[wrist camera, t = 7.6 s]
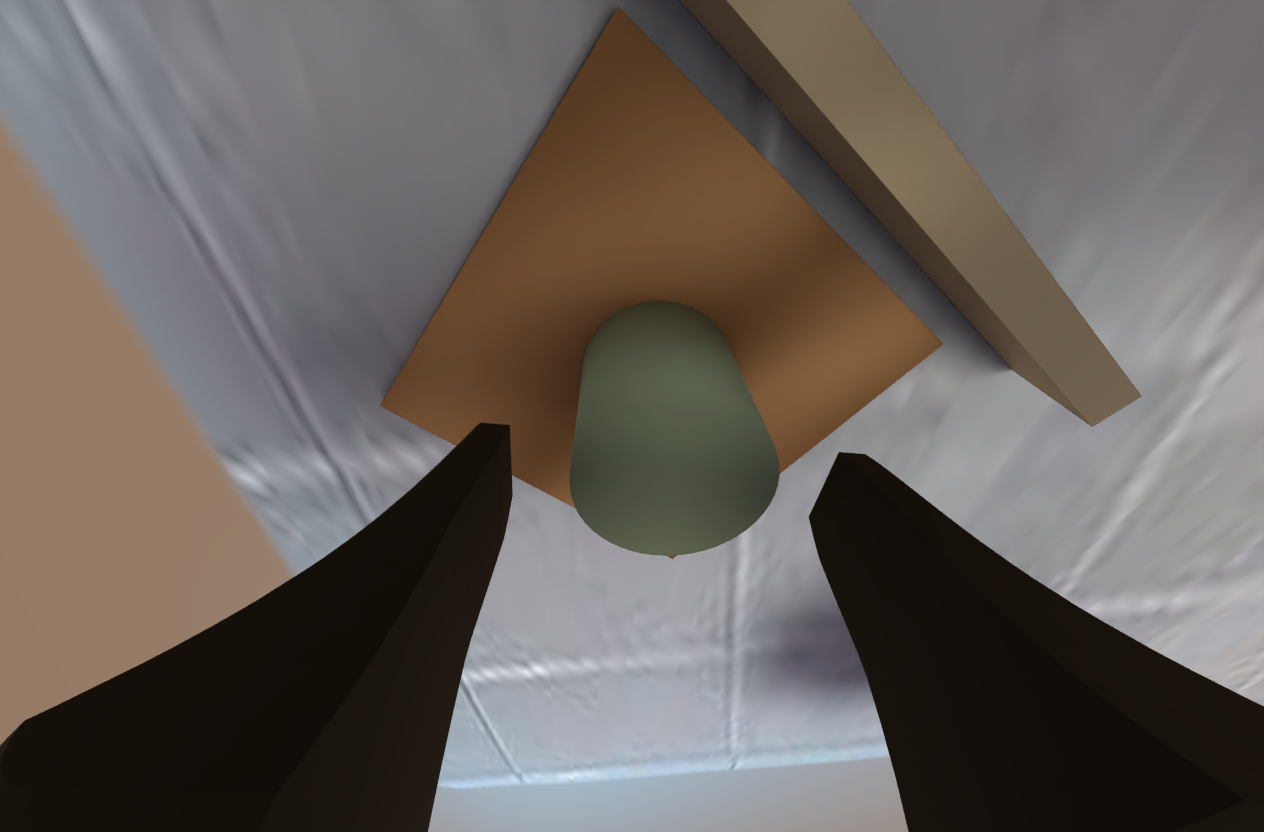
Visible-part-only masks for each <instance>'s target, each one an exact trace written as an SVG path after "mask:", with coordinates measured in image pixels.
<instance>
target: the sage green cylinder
mask: <svg viewBox="0 0 1264 832" xmlns="http://www.w3.org/2000/svg"><path fill="white" fill-rule="evenodd" d="M779 475H780V464H779V459H778V454H777V451H776V448H775V446H774V443H773V441H772V439H771V437H770V434H769V432H768V430H767V428H766V426H765V423H764V421H763V419H762V417H761V415H760V413H759V410H758V408H757V406H756V404H755V402H754V400H753V397H752V395H751V393H750V391H749V389H748V387H747V384H746V382H745V380H744V378H743V376H742V374H741V371H740V369H739V367H738V365H737V363H736V361H735V358H734V356H733V354H732V352H731V350H730V348H729V345H728V343H727V341H726V339H725V337H724V335H723V334H722V332H721V330H720V329H719V328H718V326H717V325H716V324H715V323H714V322H713V321H712V320H711V319H710V318H709V317H708V316H706V315H705V314H703V313H702V312H700V311H698V310H696V309H694V308H693V307H690V306H687V305H684V304H681V303H677V302H672V301H649V302H643V303H639V304H636V305H632V306H629V307H627V308H625V309H623V310H621V311H619V312H618V313H616V314H614V315H613V316H611V317H610V318H609V319H608V320H606V321H605V322H604V323H603V324H602V325H601V326H600V327H599V328H598V330H597V331H596V332H595V334H594V335H593V337H592V338H591V340H590V342H589V344H588V346H587V349H586V352H585V356H584V361H583V369H582V377H581V386H580V394H579V402H578V411H577V419H576V427H575V436H574V444H573V452H572V460H571V469H570V492H571V497H572V500H573V503H574V506H575V508H576V510H577V512H578V514H579V515H580V517H581V518H582V519H583V521H584V522H585V523H586V524H587V525H588V526H589V527H590V528H591V529H592V530H593V531H594V532H595V533H597V534H598V535H599V536H601V537H602V538H604V539H605V540H607V541H609V542H611V543H613V544H615V545H617V546H619V547H622V548H625V549H628V550H631V551H635V552H639V553H643V554H651V555H683V554H690V553H695V552H699V551H704V550H707V549H710V548H713V547H716V546H718V545H720V544H723V543H725V542H727V541H729V540H731V539H733V538H735V537H736V536H738V535H739V534H741V533H742V532H744V531H745V530H747V529H748V528H749V527H750V526H751V525H752V524H754V523H755V522H756V521H757V520H758V519H759V518H760V516H761V515H762V514H763V513H764V512H765V510H766V509H767V507H768V506H769V505H770V503H771V501H772V499H773V497H774V495H775V492H776V489H777V486H778V481H779Z"/></svg>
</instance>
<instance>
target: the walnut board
mask: <svg viewBox="0 0 1264 832" xmlns="http://www.w3.org/2000/svg"><path fill="white" fill-rule="evenodd" d="M649 301H672V302H677V303H681V304H684V305H687V306H690V307H693V308H694V309H696V310H698V311H700V312H702V313H703V314H705V315H706V316H708V317H709V318H710V319H711V320H712V321H713V322H714V323H715V324H716V325H717V326H718V328H719V329H720V330H721V332H722V334H723V335H724V337H725V339H726V341H727V343H728V345H729V348H730V350H731V352H732V354H733V356H734V358H735V361H736V363H737V365H738V367H739V369H740V371H741V374H742V376H743V378H744V380H745V382H746V384H747V387H748V389H749V391H750V393H751V395H752V397H753V400H754V402H755V404H756V406H757V408H758V410H759V413H760V415H761V417H762V419H763V421H764V423H765V426H766V428H767V430H768V432H769V434H770V437H771V439H772V441H773V443H774V446H775V448H776V451H777V454H778V459H779V464H780V473H781V472H783V471H784V470H785V469H786V468H788V467H789V466H790V465H791V464H793V463H794V462H795V461H796V460H798V459H799V458H800V457H801V456H803V455H804V454H805V453H806V452H808V451H809V450H810V449H812V448H813V447H814V446H815V445H817V444H818V443H819V442H820V441H822V440H823V439H824V438H825V437H827V436H828V435H829V434H830V433H832V432H833V431H834V430H835V429H837V428H838V427H839V426H841V425H842V424H843V423H844V422H846V421H847V420H848V419H849V418H851V417H852V416H853V415H854V414H856V413H857V412H858V411H859V410H861V409H862V408H863V407H864V406H866V405H867V404H868V403H870V402H871V401H872V400H873V399H875V398H876V397H877V396H878V395H880V394H881V393H882V392H883V391H885V390H886V389H887V388H888V387H890V386H891V385H892V384H893V383H895V382H896V381H897V380H899V379H900V378H901V377H902V376H904V375H905V374H906V373H907V372H909V371H910V370H911V369H912V368H914V367H915V366H916V365H917V364H919V363H920V362H921V361H922V360H924V359H925V358H926V357H927V356H929V355H930V354H931V353H933V352H934V351H935V350H936V349H938V348H939V347H940V346H941V345H943V343H942V342H941V341H940V340H939V339H938V338H937V337H936V336H935V335H934V334H933V333H932V331H931V330H930V329H929V328H928V327H927V326H926V325H925V324H924V323H923V322H922V321H921V320H920V319H919V318H918V317H917V316H916V315H915V314H914V313H913V312H912V311H911V310H910V309H909V308H908V307H907V306H906V305H905V303H904V302H903V301H902V300H901V299H900V298H899V297H898V296H897V295H896V294H895V293H894V292H893V291H892V290H891V289H890V288H889V287H888V286H887V285H886V284H885V283H884V282H883V281H882V280H881V279H880V278H879V277H878V275H877V274H876V273H875V272H874V271H873V270H872V269H871V268H870V267H869V266H868V265H867V264H866V263H865V262H864V261H863V260H862V259H861V258H860V257H859V256H858V255H857V254H856V253H855V252H854V251H853V250H852V249H851V248H850V246H849V245H848V244H847V243H846V242H845V241H844V240H843V239H842V238H841V237H840V236H839V235H838V234H837V233H836V232H835V231H834V230H833V229H832V228H831V227H830V226H829V225H828V224H827V223H826V222H825V221H824V220H823V218H822V217H821V216H820V215H819V214H818V213H817V212H816V211H815V210H814V209H813V208H812V207H811V206H810V205H809V204H808V203H807V202H806V201H805V200H804V199H803V198H802V197H801V196H800V195H799V194H798V193H797V192H796V190H795V189H794V188H793V187H792V186H791V185H790V184H789V183H788V182H787V181H786V180H785V179H784V178H783V177H782V176H781V175H780V174H779V173H778V172H777V171H776V170H775V169H774V168H773V167H772V166H771V165H770V164H769V162H768V161H767V160H766V159H765V158H764V157H763V156H762V155H761V154H760V153H759V152H758V151H757V150H756V149H755V148H754V147H753V146H752V145H751V144H750V143H749V142H748V141H747V140H746V139H745V138H744V137H743V136H742V135H741V133H740V132H739V131H738V130H737V129H736V128H735V127H734V126H733V125H732V124H731V123H730V122H729V121H728V120H727V119H726V118H725V117H724V116H723V115H722V114H721V113H720V112H719V111H718V110H717V109H716V108H715V107H714V105H713V104H712V103H711V102H710V101H709V100H708V99H707V98H706V97H705V96H704V95H703V94H702V93H701V92H700V91H699V90H698V89H697V88H696V87H695V86H694V85H693V84H692V83H691V82H690V81H689V80H688V79H687V77H686V76H685V75H684V74H683V73H682V72H681V71H680V70H679V69H678V68H677V67H676V66H675V65H674V64H673V63H672V62H671V61H670V60H669V59H668V58H667V57H666V56H665V55H664V54H663V53H662V52H661V51H660V49H659V48H658V47H657V46H656V45H655V44H654V43H653V42H652V41H651V40H650V39H649V38H648V37H647V36H646V35H645V34H644V33H643V32H642V31H641V30H640V29H639V28H638V27H637V26H636V25H635V24H634V23H633V21H632V20H631V19H630V18H629V17H628V16H627V15H626V14H625V13H624V12H623V11H622V10H621V9H620V8H619V7H618V8H617V10H616V11H615V13H614V15H613V16H612V18H611V20H610V21H609V23H608V25H607V26H606V28H605V30H604V31H603V33H602V35H601V36H600V38H599V40H598V42H597V43H596V45H595V47H594V48H593V50H592V52H591V53H590V55H589V57H588V58H587V60H586V62H585V63H584V65H583V67H582V68H581V70H580V72H579V73H578V75H577V77H576V78H575V80H574V82H573V83H572V85H571V87H570V88H569V90H568V92H567V93H566V95H565V97H564V98H563V100H562V102H561V103H560V105H559V107H558V108H557V110H556V112H555V113H554V115H553V117H552V119H551V120H550V122H549V124H548V125H547V127H546V129H545V130H544V132H543V134H542V135H541V137H540V139H539V140H538V142H537V144H536V145H535V147H534V149H533V150H532V152H531V154H530V155H529V157H528V159H527V160H526V162H525V164H524V165H523V167H522V169H521V170H520V172H519V174H518V175H517V177H516V179H515V180H514V182H513V184H512V185H511V187H510V189H509V190H508V192H507V194H506V195H505V197H504V199H503V201H502V202H501V204H500V206H499V207H498V209H497V211H496V212H495V214H494V216H493V217H492V219H491V221H490V222H489V224H488V226H487V227H486V229H485V231H484V232H483V234H482V236H481V237H480V239H479V241H478V242H477V244H476V246H475V247H474V249H473V251H472V252H471V254H470V256H469V257H468V259H467V261H466V262H465V264H464V266H463V267H462V269H461V271H460V272H459V274H458V276H457V278H456V279H455V281H454V283H453V284H452V286H451V288H450V289H449V291H448V293H447V294H446V296H445V298H444V299H443V301H442V303H441V304H440V306H439V308H438V309H437V311H436V313H435V314H434V316H433V318H432V319H431V321H430V323H429V324H428V326H427V328H426V329H425V331H424V333H423V334H422V336H421V338H420V339H419V341H418V343H417V344H416V346H415V348H414V349H413V351H412V353H411V355H410V356H409V358H408V360H407V361H406V363H405V365H404V366H403V368H402V370H401V371H400V373H399V375H398V376H397V378H396V380H395V381H394V383H393V385H392V386H391V388H390V390H389V391H388V393H387V395H386V396H385V398H384V400H383V401H382V403H381V405H380V406H381V407H383V408H385V409H387V410H389V411H391V412H393V413H395V414H397V415H398V416H400V417H402V418H404V419H406V420H408V421H410V422H412V423H414V424H416V425H418V426H419V427H421V428H423V429H425V430H427V431H429V432H431V433H433V434H435V435H437V436H439V437H440V438H442V439H444V440H446V441H448V442H450V443H452V444H454V445H456V446H457V445H458V444H459V443H460V442H461V441H462V440H463V439H464V438H465V437H466V436H467V435H468V434H469V433H470V432H471V431H472V429H473V428H474V427H475V426H477V425H478V424H479V423H493V424H505V425H510V438H511V467H512V475H513V476H515V477H517V478H519V479H521V480H523V481H525V482H526V483H528V484H530V485H532V486H534V487H536V488H538V489H540V490H542V491H544V492H546V493H547V494H549V495H551V496H553V497H555V498H557V499H559V500H561V501H563V502H565V503H567V504H569V505H570V506H572V507H574V508H575V506H574V503H573V500H572V497H571V492H570V469H571V460H572V452H573V444H574V436H575V427H576V419H577V411H578V402H579V394H580V386H581V377H582V369H583V361H584V356H585V352H586V349H587V346H588V344H589V342H590V340H591V338H592V337H593V335H594V334H595V332H596V331H597V330H598V328H599V327H600V326H601V325H602V324H603V323H604V322H605V321H606V320H608V319H609V318H610V317H611V316H613V315H614V314H616V313H618V312H619V311H621V310H623V309H625V308H627V307H629V306H632V305H636V304H639V303H643V302H649ZM666 556H668V557H670V558H672V559H673V558H674V557H675V556H677V555H666Z"/></svg>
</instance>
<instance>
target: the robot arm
mask: <svg viewBox="0 0 1264 832" xmlns="http://www.w3.org/2000/svg"><path fill="white" fill-rule="evenodd" d="M511 501H512V467H511V438H510V425H505V424H493V423H479V424H478V425H477V426H475V427H474V428H473V429H472V431H471V432H470V433H469V434H468V435H467V436H466V437H465V438H464V439H463V440H462V441H461V442H460V443H459V444H458V445H457V446H456V447H455V448H454V449H453V450H452V451H451V452H450V453H449V454H448V455H447V456H446V457H445V458H444V459H443V460H442V461H441V462H440V463H439V464H438V465H437V466H436V467H434V468H433V469H432V470H431V471H430V472H429V473H428V474H427V475H426V476H425V477H424V478H423V479H422V480H421V481H419V482H418V483H417V484H416V485H415V486H414V487H413V488H412V489H411V490H410V491H408V492H407V493H406V494H405V495H404V496H403V497H401V498H400V499H399V500H398V501H397V502H395V503H394V504H393V505H392V506H391V507H389V508H388V509H387V510H386V511H385V512H384V513H382V514H381V515H380V516H379V517H378V518H376V519H375V520H374V521H373V522H371V523H370V524H369V525H367V526H366V527H365V528H364V529H362V530H361V531H360V532H358V533H357V534H356V535H354V536H353V537H352V538H350V539H349V540H348V541H346V542H345V543H344V544H342V545H341V546H339V547H338V548H337V549H335V550H334V551H332V552H331V553H330V554H328V555H327V556H325V557H324V558H323V559H321V560H320V561H318V562H317V563H315V564H314V565H312V566H311V567H309V568H307V569H306V570H304V571H303V572H301V573H300V574H298V575H297V576H295V577H293V578H292V579H290V580H289V581H287V582H285V583H284V584H282V585H281V586H279V587H278V588H276V589H274V590H273V591H271V592H270V593H268V594H266V595H265V596H263V597H262V598H260V599H259V600H257V601H255V602H254V603H252V604H250V605H248V606H247V607H245V608H243V609H242V610H240V611H238V612H237V613H234V614H233V615H231V616H229V617H228V618H226V619H224V620H222V621H220V622H219V623H217V624H215V625H213V626H212V627H210V628H208V629H206V630H204V631H203V632H201V633H199V634H197V635H195V636H193V637H191V638H190V639H188V640H186V641H184V642H182V643H180V644H179V645H177V646H175V647H173V648H171V649H169V650H167V651H166V652H163V653H162V654H160V655H158V656H156V657H154V658H152V659H150V660H148V661H146V662H144V663H142V664H140V665H138V666H136V667H134V668H132V669H130V670H128V671H126V672H124V673H122V674H120V675H118V676H116V677H114V678H112V679H110V680H108V681H106V682H104V683H102V684H100V685H97V686H96V687H94V688H92V689H89V690H88V691H85V692H83V693H81V694H79V695H77V696H75V697H73V698H71V699H69V700H67V701H65V702H63V703H61V704H59V705H57V706H55V707H53V708H51V709H49V710H46V711H44V712H42V713H40V714H38V715H36V716H33V717H32V718H29V719H27V720H25V721H24V722H23V723H22V724H21V725H20V726H19V727H18V728H17V729H16V730H15V731H14V732H13V733H12V734H11V735H10V736H9V737H8V738H7V739H6V740H5V741H4V742H3V743H2V744H1V745H0V832H428V828H429V823H430V818H431V813H432V808H433V804H434V799H435V794H436V789H437V784H438V779H439V775H440V770H441V765H442V760H443V756H444V751H445V747H446V742H447V737H448V733H449V728H450V724H451V719H452V715H453V710H454V706H455V701H456V697H457V693H458V688H459V684H460V680H461V675H462V671H463V667H464V662H465V658H466V655H467V651H468V648H469V644H470V641H471V637H472V634H473V631H474V628H475V625H476V622H477V619H478V616H479V613H480V610H481V607H482V604H483V601H484V598H485V595H486V592H487V589H488V586H489V583H490V580H491V577H492V574H493V571H494V568H495V565H496V562H497V558H498V555H499V552H500V549H501V546H502V543H503V540H504V536H505V531H506V526H507V522H508V517H509V511H510V506H511ZM809 520H810V524H811V528H812V533H813V537H814V541H815V545H816V548H817V552H818V555H819V559H820V562H821V564H822V567H823V569H824V572H825V574H826V577H827V579H828V582H829V584H830V587H831V589H832V592H833V594H834V596H835V599H836V601H837V604H838V606H839V608H840V611H841V613H842V616H843V618H844V621H845V623H846V625H847V628H848V630H849V633H850V635H851V637H852V640H853V642H854V645H855V647H856V649H857V652H858V654H859V657H860V660H861V662H862V665H863V668H864V671H865V673H866V676H867V679H868V682H869V686H870V689H871V692H872V695H873V699H874V702H875V705H876V709H877V712H878V715H879V719H880V722H881V725H882V729H883V733H884V736H885V740H886V744H887V747H888V751H889V755H890V758H891V762H892V766H893V769H894V773H895V777H896V781H897V785H898V789H899V793H900V797H901V802H902V806H903V810H904V814H905V819H906V823H907V827H908V831H909V832H1264V706H1262V705H1260V704H1257V703H1255V702H1253V701H1251V700H1249V699H1247V698H1245V697H1243V696H1241V695H1239V694H1237V693H1235V692H1233V691H1231V690H1229V689H1227V688H1225V687H1223V686H1221V685H1219V684H1217V683H1216V682H1214V681H1212V680H1210V679H1208V678H1206V677H1204V676H1202V675H1200V674H1198V673H1196V672H1194V671H1192V670H1190V669H1188V668H1186V667H1184V666H1182V665H1180V664H1179V663H1177V662H1175V661H1173V660H1171V659H1169V658H1167V657H1165V656H1163V655H1162V654H1160V653H1158V652H1156V651H1154V650H1152V649H1150V648H1149V647H1147V646H1145V645H1143V644H1142V643H1140V642H1138V641H1136V640H1135V639H1133V638H1131V637H1129V636H1127V635H1126V634H1124V633H1122V632H1120V631H1119V630H1117V629H1115V628H1113V627H1112V626H1110V625H1108V624H1106V623H1104V622H1103V621H1101V620H1099V619H1098V618H1096V617H1094V616H1093V615H1091V614H1089V613H1088V612H1086V611H1084V610H1083V609H1081V608H1079V607H1078V606H1076V605H1074V604H1073V603H1071V602H1070V601H1068V600H1066V599H1065V598H1063V597H1062V596H1060V595H1059V594H1057V593H1055V592H1054V591H1052V590H1051V589H1049V588H1048V587H1046V586H1044V585H1043V584H1041V583H1040V582H1038V581H1037V580H1035V579H1033V578H1032V577H1030V576H1029V575H1027V574H1026V573H1024V572H1023V571H1021V570H1020V569H1019V568H1017V567H1016V566H1014V565H1013V564H1011V563H1010V562H1008V561H1007V560H1006V559H1004V558H1003V557H1001V556H1000V555H999V554H997V553H996V552H994V551H993V550H992V549H990V548H989V547H987V546H986V545H985V544H983V543H982V542H980V541H979V540H978V539H976V538H975V537H974V536H972V535H971V534H970V533H968V532H967V531H966V530H964V529H963V528H962V527H960V526H959V525H958V524H956V523H955V522H954V521H952V520H951V519H950V518H949V517H947V516H946V515H945V514H943V513H942V512H941V511H939V510H938V509H937V508H936V507H934V506H933V505H932V504H931V503H929V502H928V501H927V500H925V499H924V498H923V497H922V496H920V495H919V494H918V493H917V492H915V491H914V490H913V489H911V488H910V487H909V486H908V485H906V484H905V483H904V482H903V481H901V480H900V479H899V478H897V477H896V476H895V475H893V474H892V473H891V472H890V471H888V470H887V469H886V468H884V467H883V466H882V465H880V464H879V463H877V462H876V461H875V460H873V459H872V458H870V457H869V456H867V455H866V454H855V453H843V452H839V453H838V455H837V458H836V460H835V462H834V464H833V466H832V468H831V470H830V473H829V475H828V477H827V479H826V481H825V483H824V485H823V488H822V490H821V492H820V494H819V496H818V498H817V500H816V503H815V505H814V507H813V509H812V511H811V513H810V515H809Z"/></svg>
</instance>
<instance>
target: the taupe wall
mask: <svg viewBox="0 0 1264 832" xmlns="http://www.w3.org/2000/svg"><path fill="white" fill-rule="evenodd" d="M680 1H681V2H682V4H683V5H684V6H685V7H686V8H687V9H688V10H689V11H690V12H691V14H692V15H693V16H694V17H695V18H696V19H697V20H698V21H699V22H700V24H701V25H702V26H703V27H704V28H705V29H706V30H707V31H708V32H709V34H710V35H711V36H712V37H713V38H714V39H715V40H716V41H717V42H718V44H719V45H720V46H721V47H722V48H723V49H724V50H725V51H726V52H727V54H728V55H729V56H730V57H731V58H732V59H733V60H734V61H735V62H736V63H737V65H738V66H739V67H740V68H741V69H742V70H743V71H744V72H745V73H746V75H747V76H748V77H749V78H750V79H751V80H752V81H753V82H754V83H755V85H756V86H757V87H758V88H759V89H760V90H761V91H762V92H763V93H764V95H765V96H766V97H767V98H768V99H769V100H770V101H771V102H772V103H773V105H774V106H775V107H776V108H777V109H778V110H779V111H780V112H781V113H782V115H783V116H784V117H785V118H786V119H787V120H788V121H789V122H790V123H791V125H792V126H793V127H794V128H795V129H796V130H797V131H798V132H799V133H800V135H801V136H802V137H803V138H804V139H805V140H806V141H807V142H808V143H809V145H810V146H811V147H812V148H813V149H814V150H815V151H816V152H817V153H818V154H819V156H820V157H821V158H822V159H823V160H824V161H825V162H826V163H827V164H828V166H829V167H830V168H831V169H832V170H833V171H834V172H835V173H836V174H837V176H838V177H839V178H840V179H841V180H842V181H843V182H844V183H845V184H846V186H847V187H848V188H849V189H850V190H851V191H852V192H853V193H854V194H855V196H856V197H857V198H858V199H859V200H860V201H861V202H862V203H863V204H864V206H865V207H866V208H867V209H868V210H869V211H870V212H871V213H872V214H873V216H874V217H875V218H876V219H877V220H878V221H879V222H880V223H881V224H882V226H883V227H884V228H885V229H886V230H887V231H888V232H889V233H890V234H891V236H892V237H893V238H894V239H895V240H896V241H897V242H898V243H899V244H900V245H901V247H902V248H903V249H904V250H905V251H906V252H907V253H908V254H909V255H910V257H911V258H912V259H913V260H914V261H915V262H916V263H917V264H918V265H919V267H920V268H921V269H922V270H923V271H924V272H925V273H926V274H927V275H928V277H929V278H930V279H931V280H932V281H933V282H934V283H935V284H936V285H937V287H938V288H939V289H940V290H941V291H942V292H943V293H944V294H945V295H946V297H947V298H948V299H949V300H950V301H951V302H952V303H953V304H954V305H955V307H956V308H957V309H958V310H959V311H960V312H961V313H962V314H963V315H964V317H965V318H966V319H967V320H968V321H969V322H970V323H971V324H972V325H973V327H974V328H975V329H976V330H977V331H978V332H979V333H980V334H981V335H982V336H983V338H984V339H985V340H986V341H987V342H988V343H989V344H990V345H991V346H992V348H993V349H994V350H995V351H996V352H997V353H998V354H999V355H1000V356H1001V358H1002V359H1003V360H1004V361H1005V362H1006V363H1007V364H1008V365H1009V366H1010V368H1011V369H1012V370H1013V371H1014V372H1016V373H1017V374H1018V375H1020V376H1021V377H1023V378H1024V379H1026V380H1027V381H1028V382H1030V383H1031V384H1033V385H1034V386H1035V387H1037V388H1038V389H1040V390H1041V391H1042V392H1044V393H1045V394H1047V395H1048V396H1049V397H1051V398H1052V399H1054V400H1055V401H1056V402H1058V403H1059V404H1061V405H1062V406H1063V407H1065V408H1066V409H1068V410H1069V411H1071V412H1072V413H1073V414H1075V415H1076V416H1078V417H1079V418H1080V419H1082V420H1083V421H1085V422H1086V423H1087V424H1089V425H1090V426H1092V427H1093V426H1094V425H1096V424H1098V423H1099V422H1101V421H1102V420H1104V419H1106V418H1107V417H1109V416H1111V415H1112V414H1114V413H1115V412H1117V411H1119V410H1120V409H1122V408H1123V407H1125V406H1127V405H1128V404H1130V403H1132V402H1133V401H1135V400H1136V399H1138V398H1140V397H1141V395H1140V393H1139V392H1138V390H1137V389H1136V388H1135V386H1134V385H1133V384H1132V382H1131V381H1130V380H1129V378H1128V377H1127V376H1126V374H1125V373H1124V372H1123V370H1122V369H1121V368H1120V366H1119V365H1118V364H1117V362H1116V361H1115V360H1114V358H1113V357H1112V356H1111V354H1110V353H1109V351H1108V350H1107V349H1106V347H1105V346H1104V345H1103V343H1102V342H1101V341H1100V339H1099V338H1098V337H1097V335H1096V334H1095V333H1094V331H1093V330H1092V329H1091V327H1090V326H1089V325H1088V323H1087V322H1086V321H1085V319H1084V318H1083V316H1082V315H1081V314H1080V312H1079V311H1078V310H1077V308H1076V307H1075V306H1074V304H1073V303H1072V302H1071V300H1070V299H1069V298H1068V296H1067V295H1066V294H1065V292H1064V291H1063V290H1062V288H1061V287H1060V286H1059V284H1058V283H1057V282H1056V280H1055V279H1054V277H1053V276H1052V275H1051V273H1050V272H1049V271H1048V269H1047V268H1046V267H1045V265H1044V264H1043V263H1042V261H1041V260H1040V259H1039V257H1038V256H1037V255H1036V253H1035V252H1034V251H1033V249H1032V248H1031V247H1030V245H1029V244H1028V243H1027V241H1026V240H1025V238H1024V237H1023V236H1022V234H1021V233H1020V232H1019V230H1018V229H1017V228H1016V226H1015V225H1014V224H1013V222H1012V221H1011V220H1010V218H1009V217H1008V216H1007V214H1006V213H1005V212H1004V210H1003V209H1002V208H1001V206H1000V205H999V203H998V202H997V201H996V199H995V198H994V197H993V195H992V194H991V193H990V191H989V190H988V189H987V187H986V186H985V185H984V183H983V182H982V181H981V179H980V178H979V177H978V175H977V174H976V173H975V171H974V170H973V169H972V167H971V166H970V164H969V163H968V162H967V160H966V159H965V158H964V156H963V155H962V154H961V152H960V151H959V150H958V148H957V147H956V146H955V144H954V143H953V142H952V140H951V139H950V138H949V136H948V135H947V134H946V132H945V131H944V130H943V128H942V127H941V125H940V124H939V123H938V121H937V120H936V119H935V117H934V116H933V115H932V113H931V112H930V111H929V109H928V108H927V107H926V105H925V104H924V103H923V101H922V100H921V99H920V97H919V96H918V95H917V93H916V92H915V90H914V89H913V88H912V86H911V85H910V84H909V82H908V81H907V80H906V78H905V77H904V76H903V74H902V73H901V72H900V70H899V69H898V68H897V66H896V65H895V64H894V62H893V61H892V60H891V58H890V57H889V56H888V54H887V53H886V51H885V50H884V49H883V47H882V46H881V45H880V43H879V42H878V41H877V39H876V38H875V37H874V35H873V34H872V33H871V31H870V30H869V29H868V27H867V26H866V25H865V23H864V22H863V21H862V19H861V18H860V16H859V15H858V14H857V12H856V11H855V10H854V8H853V7H852V6H851V4H850V3H849V2H848V0H680Z"/></svg>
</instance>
